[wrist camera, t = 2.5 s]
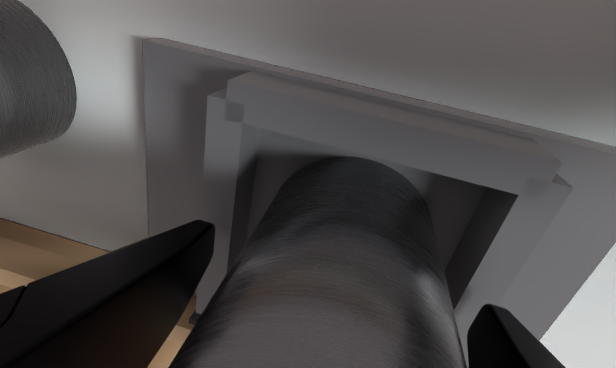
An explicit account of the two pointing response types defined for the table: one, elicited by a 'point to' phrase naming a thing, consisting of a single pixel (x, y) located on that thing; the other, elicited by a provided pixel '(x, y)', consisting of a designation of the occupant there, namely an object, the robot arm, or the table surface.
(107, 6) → the table surface
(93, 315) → the robot arm
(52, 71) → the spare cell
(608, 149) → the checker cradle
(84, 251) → the trough board
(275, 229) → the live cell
